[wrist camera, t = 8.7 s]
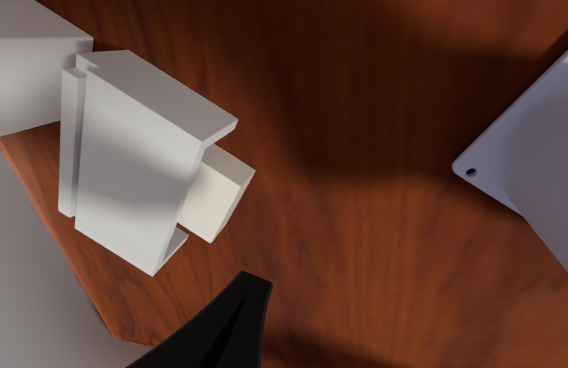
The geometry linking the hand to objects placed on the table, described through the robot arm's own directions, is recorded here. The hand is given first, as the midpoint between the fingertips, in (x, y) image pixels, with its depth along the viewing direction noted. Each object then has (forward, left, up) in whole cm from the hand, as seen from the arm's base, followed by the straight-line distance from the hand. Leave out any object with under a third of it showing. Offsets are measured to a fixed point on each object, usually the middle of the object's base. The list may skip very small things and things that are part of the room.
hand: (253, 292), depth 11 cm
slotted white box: (+10, +5, -9) cm, 15 cm away
